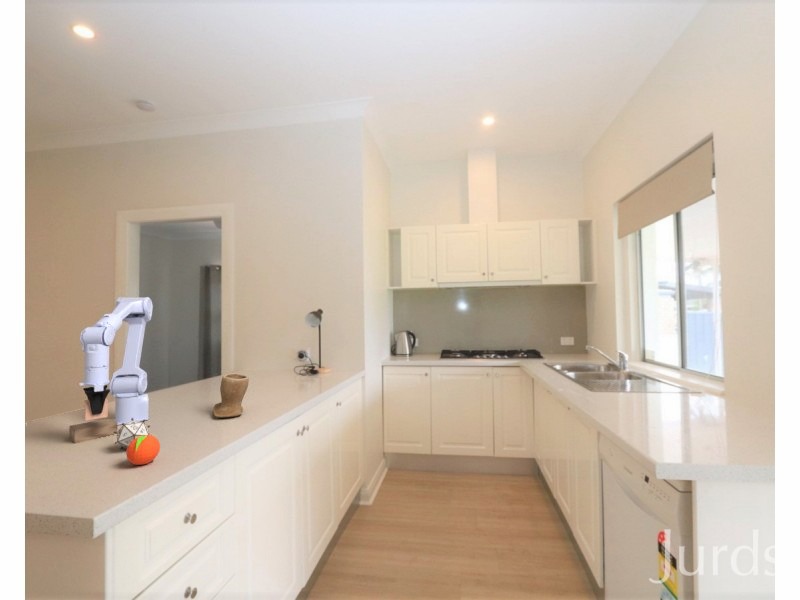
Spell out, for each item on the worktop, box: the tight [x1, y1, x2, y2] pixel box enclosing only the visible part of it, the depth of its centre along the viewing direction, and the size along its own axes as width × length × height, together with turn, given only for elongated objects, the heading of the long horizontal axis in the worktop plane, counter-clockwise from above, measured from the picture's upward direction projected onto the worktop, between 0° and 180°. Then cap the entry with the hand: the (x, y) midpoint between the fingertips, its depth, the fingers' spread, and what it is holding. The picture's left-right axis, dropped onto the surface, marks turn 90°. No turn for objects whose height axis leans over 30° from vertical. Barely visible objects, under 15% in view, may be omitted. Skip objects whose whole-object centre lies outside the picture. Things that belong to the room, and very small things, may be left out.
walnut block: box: [68, 417, 118, 444], centre depth 111 cm, size 10×8×4 cm
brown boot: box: [213, 372, 250, 418], centre depth 135 cm, size 15×12×15 cm
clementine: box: [126, 434, 161, 466], centre depth 90 cm, size 8×7×7 cm
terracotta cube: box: [83, 397, 109, 422], centre depth 108 cm, size 5×5×5 cm
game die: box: [113, 418, 153, 450], centre depth 100 cm, size 9×8×10 cm
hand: (96, 412), depth 108 cm, fingers closed on terracotta cube, 5 cm apart
